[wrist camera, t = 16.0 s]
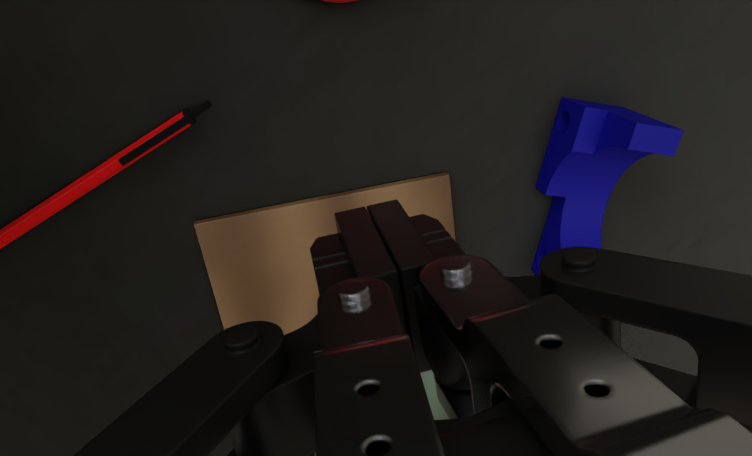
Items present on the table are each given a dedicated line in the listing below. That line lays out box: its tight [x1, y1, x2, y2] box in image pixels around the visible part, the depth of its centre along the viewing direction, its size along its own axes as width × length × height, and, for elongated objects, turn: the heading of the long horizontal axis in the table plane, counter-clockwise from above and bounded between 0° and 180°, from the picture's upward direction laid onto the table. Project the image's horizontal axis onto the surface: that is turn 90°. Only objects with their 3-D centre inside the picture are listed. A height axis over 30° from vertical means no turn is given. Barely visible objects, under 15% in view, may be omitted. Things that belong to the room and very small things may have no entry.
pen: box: [0, 101, 212, 249], centre depth 34 cm, size 1×19×1 cm, turn 122°
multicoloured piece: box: [194, 172, 456, 456], centre depth 42 cm, size 16×24×1 cm, turn 9°
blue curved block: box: [531, 97, 684, 276], centre depth 38 cm, size 12×4×6 cm, turn 171°
